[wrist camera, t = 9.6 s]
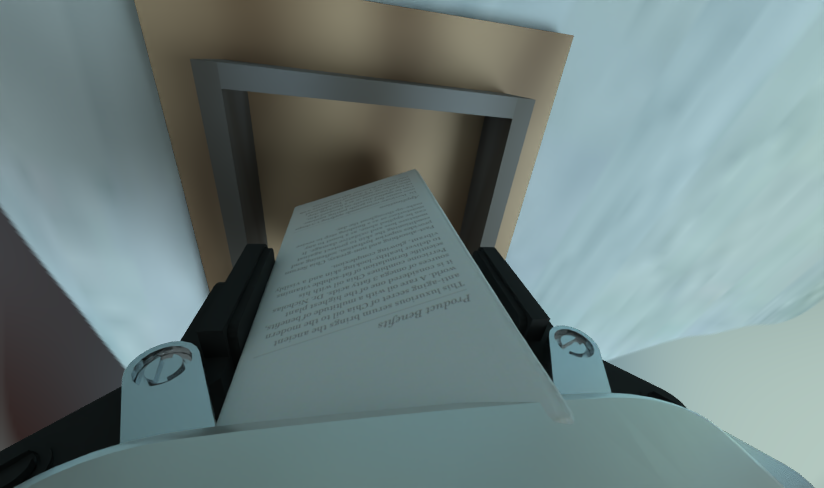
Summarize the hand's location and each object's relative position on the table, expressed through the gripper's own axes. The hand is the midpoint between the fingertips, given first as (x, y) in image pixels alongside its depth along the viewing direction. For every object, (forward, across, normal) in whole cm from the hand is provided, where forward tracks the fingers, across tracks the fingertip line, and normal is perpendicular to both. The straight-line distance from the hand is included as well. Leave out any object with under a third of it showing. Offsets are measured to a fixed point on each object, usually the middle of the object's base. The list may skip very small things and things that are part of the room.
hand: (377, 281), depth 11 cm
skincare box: (+5, 0, 0) cm, 5 cm away
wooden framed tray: (+8, 0, 0) cm, 8 cm away
